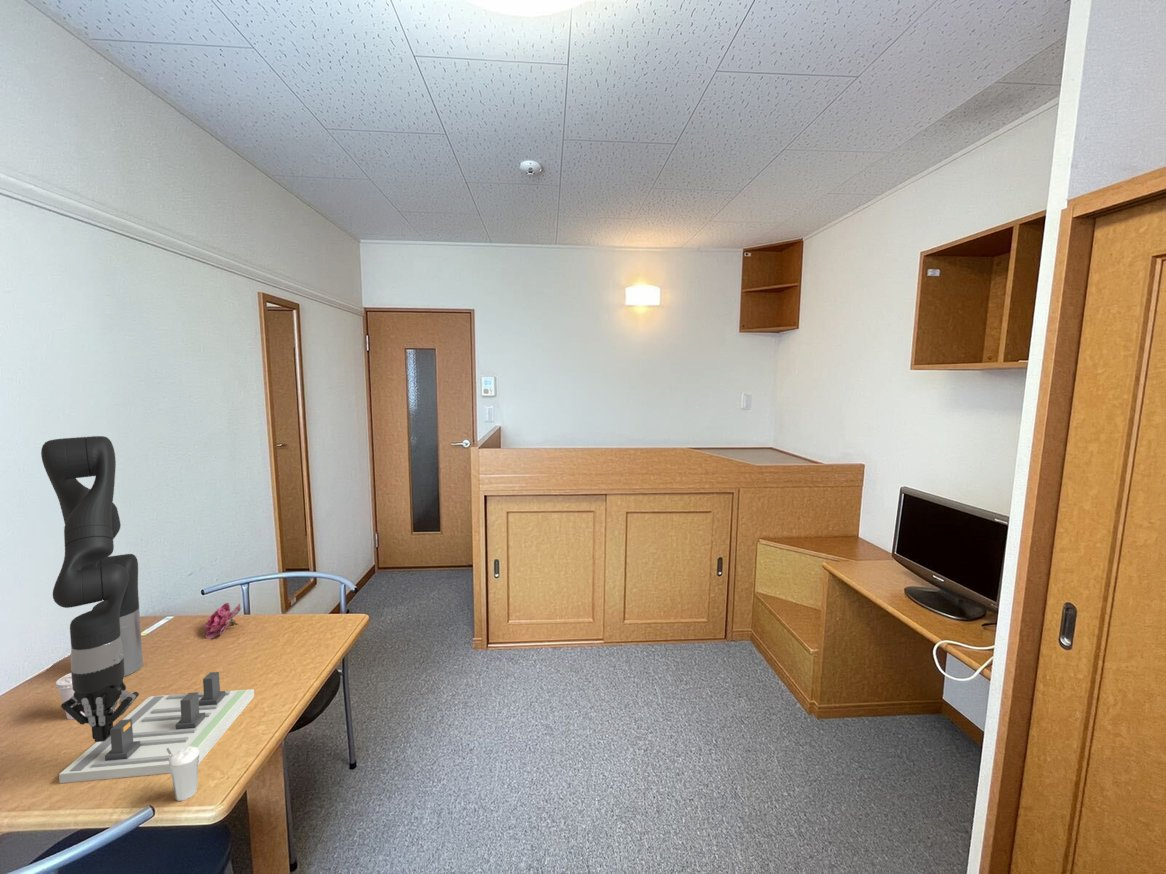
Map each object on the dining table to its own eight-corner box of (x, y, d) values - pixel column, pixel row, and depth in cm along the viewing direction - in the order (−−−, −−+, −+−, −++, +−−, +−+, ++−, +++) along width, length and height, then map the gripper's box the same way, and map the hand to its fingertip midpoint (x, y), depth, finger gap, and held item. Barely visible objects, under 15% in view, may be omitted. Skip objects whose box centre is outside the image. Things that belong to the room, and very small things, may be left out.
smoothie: (52, 726, 108) (47, 670, 107) (67, 709, 114) (62, 656, 112) (90, 718, 111) (85, 663, 110) (102, 702, 117) (98, 650, 115)
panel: (59, 783, 93) (56, 742, 92) (150, 703, 117) (147, 670, 116) (193, 770, 97) (190, 731, 96) (254, 696, 121) (252, 664, 120)
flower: (205, 651, 146) (187, 625, 145) (228, 637, 156) (211, 613, 155) (236, 630, 146) (218, 605, 146) (257, 618, 156) (239, 593, 156)
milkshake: (178, 785, 94) (176, 739, 93) (206, 784, 94) (204, 738, 93) (160, 805, 89) (157, 757, 88) (189, 803, 89) (187, 756, 89)
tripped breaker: (105, 760, 96) (102, 731, 95) (119, 747, 100) (117, 719, 99) (127, 759, 97) (125, 729, 96) (140, 746, 100) (138, 717, 100)
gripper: (42, 674, 91) (49, 755, 92) (119, 670, 93) (124, 749, 94) (77, 653, 98) (83, 728, 100) (148, 649, 100) (152, 723, 102)
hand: (103, 738), depth 97 cm, fingers closed
